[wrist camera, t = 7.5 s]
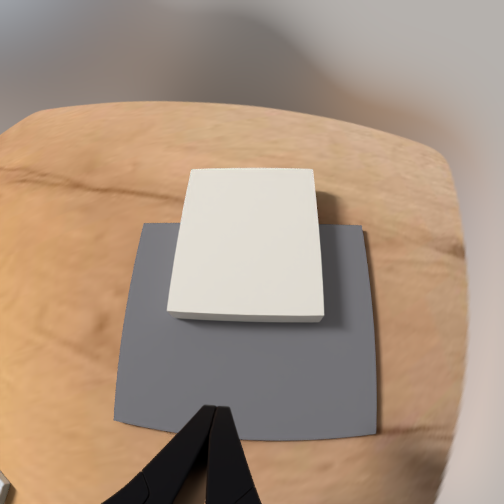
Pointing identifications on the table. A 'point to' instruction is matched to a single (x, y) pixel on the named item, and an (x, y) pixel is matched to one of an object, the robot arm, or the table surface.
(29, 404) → the table surface
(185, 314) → the tile
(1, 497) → the external hard drive
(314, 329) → the mat
